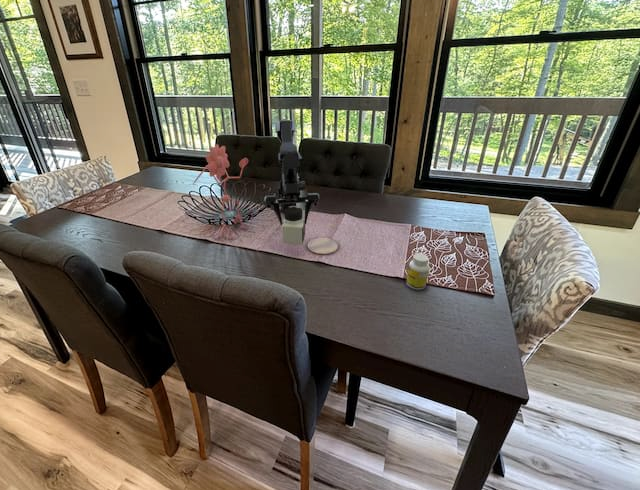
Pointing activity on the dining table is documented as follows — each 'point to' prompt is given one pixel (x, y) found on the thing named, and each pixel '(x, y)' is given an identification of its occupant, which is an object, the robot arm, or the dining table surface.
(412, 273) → the supplement bottle
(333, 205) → the dining table surface
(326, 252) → the coaster
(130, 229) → the dining table surface
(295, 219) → the medicine bottle
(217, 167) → the figurine
